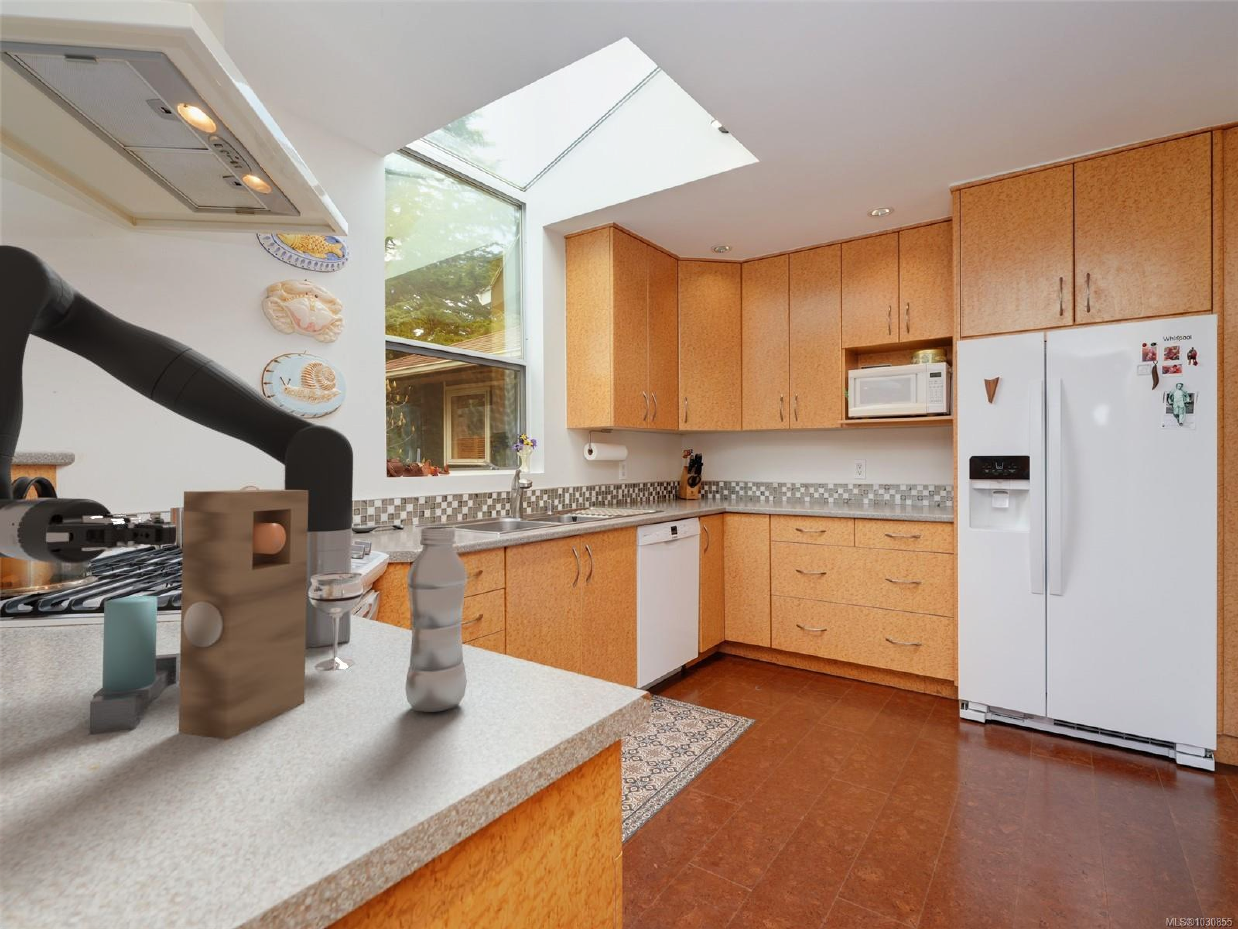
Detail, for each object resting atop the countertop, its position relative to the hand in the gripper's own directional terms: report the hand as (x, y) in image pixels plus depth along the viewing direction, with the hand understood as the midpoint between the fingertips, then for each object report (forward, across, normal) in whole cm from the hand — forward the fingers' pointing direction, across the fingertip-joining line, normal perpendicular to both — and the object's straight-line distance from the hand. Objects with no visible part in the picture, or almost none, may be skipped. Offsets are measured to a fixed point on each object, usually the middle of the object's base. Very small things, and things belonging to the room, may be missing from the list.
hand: (170, 534), depth 67 cm
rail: (-4, 0, +19) cm, 19 cm away
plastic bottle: (+29, +7, +19) cm, 35 cm away
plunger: (+10, 0, +2) cm, 10 cm away
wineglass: (+8, +18, +19) cm, 27 cm away
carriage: (-1, -3, +17) cm, 17 cm away
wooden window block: (+11, 0, +19) cm, 22 cm away
